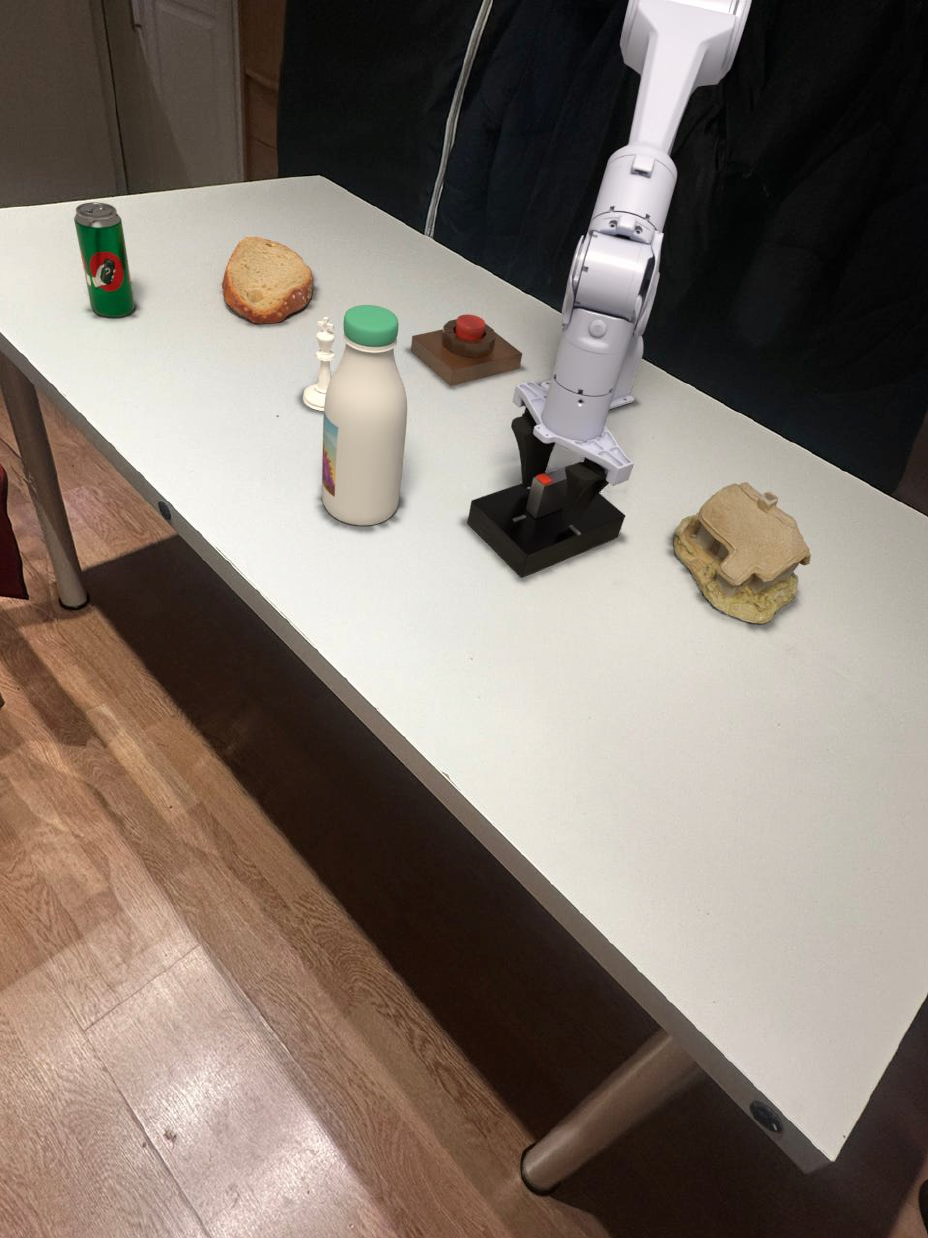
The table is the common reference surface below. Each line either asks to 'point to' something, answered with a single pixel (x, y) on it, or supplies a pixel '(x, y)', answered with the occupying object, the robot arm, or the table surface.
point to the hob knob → (547, 493)
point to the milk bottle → (364, 421)
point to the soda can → (104, 259)
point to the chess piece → (321, 367)
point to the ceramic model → (743, 552)
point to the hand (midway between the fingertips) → (551, 501)
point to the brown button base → (465, 354)
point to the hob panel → (539, 529)
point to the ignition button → (470, 327)
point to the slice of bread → (266, 281)
